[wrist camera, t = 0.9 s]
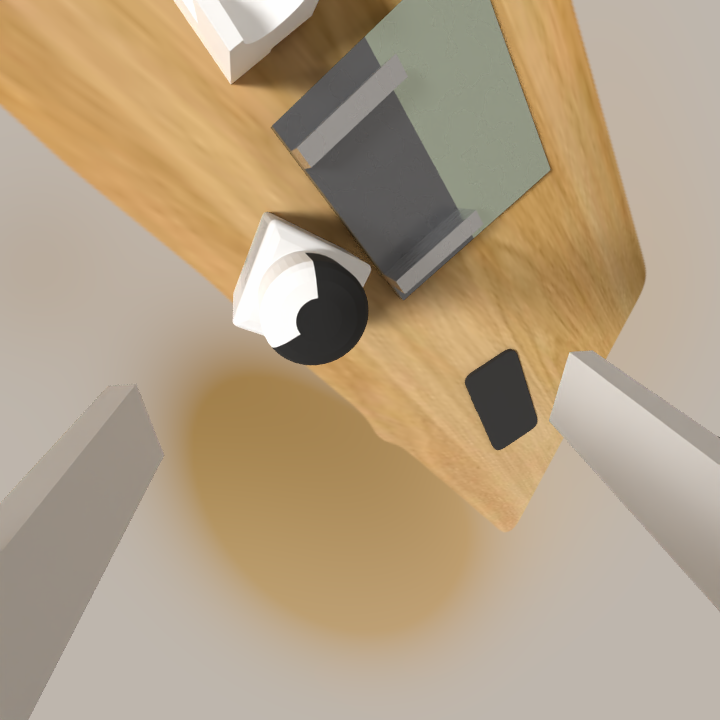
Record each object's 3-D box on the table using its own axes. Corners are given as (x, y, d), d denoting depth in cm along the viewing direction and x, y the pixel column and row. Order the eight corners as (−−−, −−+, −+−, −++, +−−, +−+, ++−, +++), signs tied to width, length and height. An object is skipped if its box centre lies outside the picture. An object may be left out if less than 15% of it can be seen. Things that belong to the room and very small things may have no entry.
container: (346, 250, 32) (403, 285, 21) (312, 325, 35) (348, 392, 23) (264, 209, 29) (281, 226, 18) (232, 295, 31) (229, 358, 20)
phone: (496, 453, 51) (464, 380, 43) (492, 449, 51) (460, 377, 44) (539, 424, 51) (515, 346, 43) (535, 421, 52) (510, 344, 44)
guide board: (270, 127, 27) (275, 119, 23) (459, -55, 26) (494, -91, 22) (399, 297, 36) (416, 309, 33) (542, 170, 35) (576, 168, 31)
